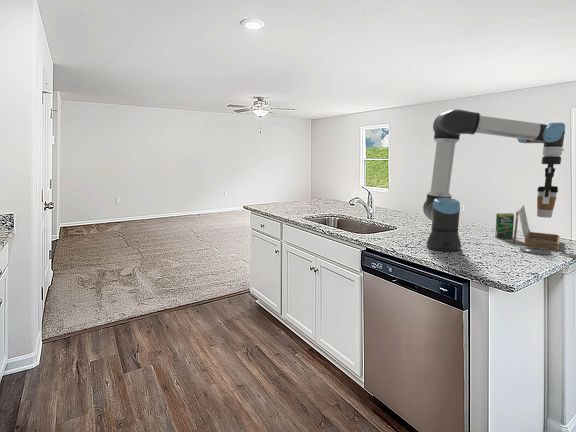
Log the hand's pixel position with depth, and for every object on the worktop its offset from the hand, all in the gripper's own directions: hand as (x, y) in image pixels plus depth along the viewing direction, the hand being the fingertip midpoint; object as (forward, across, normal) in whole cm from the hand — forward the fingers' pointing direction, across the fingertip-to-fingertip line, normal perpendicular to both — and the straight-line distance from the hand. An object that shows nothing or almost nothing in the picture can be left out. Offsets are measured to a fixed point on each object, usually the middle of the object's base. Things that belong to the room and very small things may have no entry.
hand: (545, 202), depth 180 cm
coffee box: (+21, +6, +17) cm, 27 cm away
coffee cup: (+7, 0, 0) cm, 7 cm away
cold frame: (+21, 0, +2) cm, 21 cm away
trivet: (+21, -20, +1) cm, 29 cm away
